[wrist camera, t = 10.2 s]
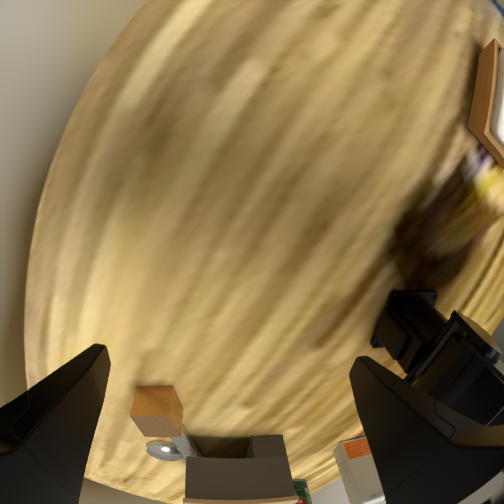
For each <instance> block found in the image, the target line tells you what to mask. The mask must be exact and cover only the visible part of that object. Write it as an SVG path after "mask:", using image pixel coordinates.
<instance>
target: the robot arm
mask: <svg viewBox="0 0 504 504" xmlns="http://www.w3.org/2000/svg"><path fill="white" fill-rule="evenodd" d="M395 294H396V295H395ZM394 295H395V296H394ZM437 297H438V293H437V292H436V291H431V290H393V291H392V292H391V293H390V295H389V298H388V301H387V303H386V306H385V309H384V311H383V314H382V316H381V319H380V321H379V324H378V326H377V329H376V331H375V334H374V336H373V338H372V341H371V343H370V344H371V346H372V347H373V348H383V347H385V349H386V350H387V351H388V353H389V354H390V356H391V357H392V358H393V360H396V361H397V362H398V363H399V365H400V366H401V368H402V369H403V371H404V372H405V373H406V374H407V375H406V377H405V378H404V379H402V378H400V377H399V376H397V375H396V374H394V373H393V372H391V371H389V370H388V369H386V368H385V367H383V366H382V365H380V364H379V363H377V362H376V361H374V360H373V359H371V358H370V357H368V356H359V357H357V358H356V359H355V361H354V364H353V366H352V368H351V370H350V374H349V377H350V382H351V386H352V391H353V395H354V399H355V404H356V408H357V411H358V415H359V417H360V420H361V423H362V426H363V429H364V432H365V435H366V438H367V441H368V444H369V447H370V450H371V454H372V457H373V460H374V463H375V466H376V469H377V473H378V476H379V479H380V483H381V486H382V489H383V493H384V495H385V496H384V497H385V500H386V504H504V364H503V363H502V362H501V361H500V360H499V359H500V357H501V356H502V354H503V353H502V351H501V350H500V349H499V347H498V346H497V344H496V343H495V342H494V340H493V339H492V338H491V336H490V335H489V334H488V333H487V332H486V331H485V330H484V329H483V328H481V327H480V326H479V325H478V324H477V323H476V322H474V321H473V320H471V319H469V318H468V317H466V316H464V315H462V314H461V313H459V312H457V311H455V310H454V311H453V312H452V314H451V317H450V319H449V320H447V319H446V318H445V317H444V316H443V315H442V314H441V313H440V312H439V311H438V310H437V309H436V308H434V304H435V302H436V299H437ZM110 367H111V363H110V358H109V354H108V350H107V347H106V346H105V345H103V344H97V343H95V344H93V345H92V346H90V347H89V348H87V349H86V350H84V351H83V352H82V353H80V354H79V355H77V356H76V357H74V358H73V359H71V360H70V361H69V362H67V363H66V364H64V365H63V366H61V367H60V368H58V369H57V370H56V371H54V372H53V373H51V374H50V375H48V376H47V377H46V378H44V379H43V380H41V381H40V382H38V383H37V384H36V385H34V386H33V387H31V388H30V389H29V391H28V390H27V391H26V392H24V393H23V394H21V395H20V396H18V397H17V398H15V399H14V400H12V401H11V402H9V403H7V404H6V405H4V406H2V407H1V408H0V504H79V497H80V492H81V487H82V482H83V478H84V473H85V469H86V464H87V460H88V456H89V452H90V448H91V444H92V441H93V437H94V433H95V430H96V426H97V423H98V419H99V416H100V413H101V410H102V406H103V402H104V397H105V392H106V387H107V382H108V377H109V372H110Z"/></svg>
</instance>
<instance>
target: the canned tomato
mask: <svg viewBox="0 0 504 504" xmlns="http://www.w3.org/2000/svg"><path fill="white" fill-rule="evenodd" d="M293 485H294V489H295V494H296V496H297V495H298V497H299V500H298V501H297V502H296V503H295V504H312V502H311V498H310V494H309V490H308V486H307V482H306V481H305V480H300V479H296V480H293Z"/></svg>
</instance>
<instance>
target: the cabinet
mask: <svg viewBox="0 0 504 504" xmlns="http://www.w3.org/2000/svg"><path fill="white" fill-rule="evenodd" d="M298 500H299V497H298V495H297V496H296V494H295V489H294V485H293V480H292V476H291V471H290V467H289V462H288V458H287V453H286V449H285V444H284V440H283V435H272V436H252V437H251V440H250V444H249V447H248V450H247V454H246V457H245V458H243V459H233V458H204V457H190V456H186V482H185V498H183V504H295V503H296V502H297V501H298Z"/></svg>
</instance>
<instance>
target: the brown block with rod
mask: <svg viewBox="0 0 504 504" xmlns="http://www.w3.org/2000/svg"><path fill="white" fill-rule="evenodd" d="M130 417H131V418H132V420H133V421H134V422H135V424H136V425H137V427H138V428H139V429H140V431H141V432H142V433H143V435H144V436H146V437H171V439H172V440H173V442H174V443H175V445H176V446H177V448H178V449H179V451H180V452H181V454H182V455H183V456H184V458H185V459H186V456H190V457H201V455H200V454H199V452H198V450H197V448H196V447H195V445H194V443H193V442H192V440H191V438H190V436H189V435H188V433H187V431H186V429H185V427H184V425H183V424H182V418H183V407H182V405H181V403H180V400H179V398H178V396H177V394H176V392H175V389H174V387H173V386H137V389H136V393H135V397H134V400H133V404H132V408H131V412H130Z"/></svg>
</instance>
